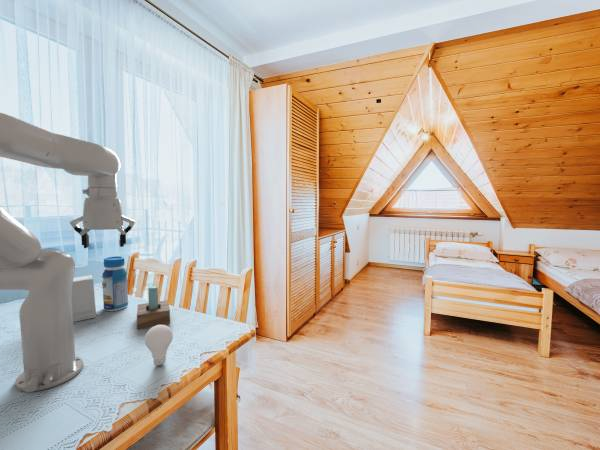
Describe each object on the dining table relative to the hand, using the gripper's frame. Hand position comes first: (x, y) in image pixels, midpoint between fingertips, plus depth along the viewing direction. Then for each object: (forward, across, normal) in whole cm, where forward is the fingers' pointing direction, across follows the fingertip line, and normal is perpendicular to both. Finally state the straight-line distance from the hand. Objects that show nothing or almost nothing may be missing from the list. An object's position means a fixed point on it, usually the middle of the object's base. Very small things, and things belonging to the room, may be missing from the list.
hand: (104, 246), depth 91 cm
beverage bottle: (+28, 0, +20) cm, 34 cm away
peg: (+28, +14, +2) cm, 31 cm away
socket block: (+28, +14, +2) cm, 31 cm away
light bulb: (+29, +16, -28) cm, 43 cm away
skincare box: (+28, -10, +14) cm, 33 cm away
